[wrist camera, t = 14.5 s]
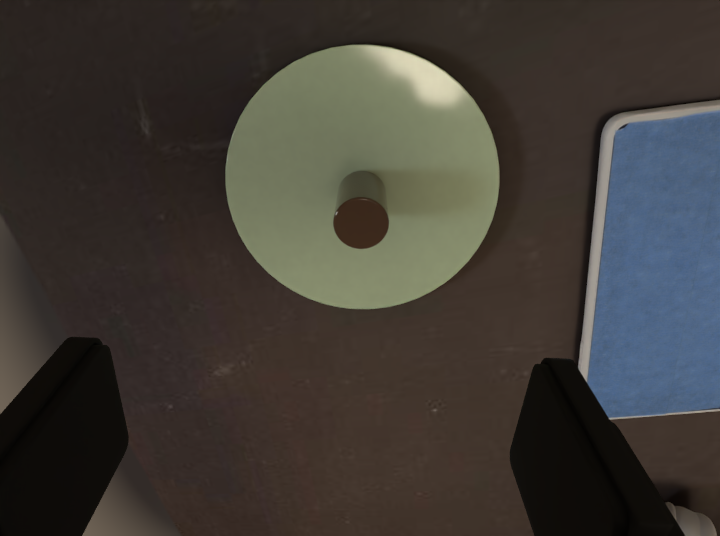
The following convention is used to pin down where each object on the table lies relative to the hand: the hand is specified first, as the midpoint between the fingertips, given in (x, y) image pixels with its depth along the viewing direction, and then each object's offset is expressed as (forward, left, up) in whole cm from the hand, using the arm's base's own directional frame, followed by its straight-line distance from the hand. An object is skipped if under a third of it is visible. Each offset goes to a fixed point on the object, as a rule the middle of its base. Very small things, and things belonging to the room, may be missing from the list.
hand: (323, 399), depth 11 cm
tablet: (+20, -4, -17) cm, 26 cm away
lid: (+1, 0, -16) cm, 16 cm away
